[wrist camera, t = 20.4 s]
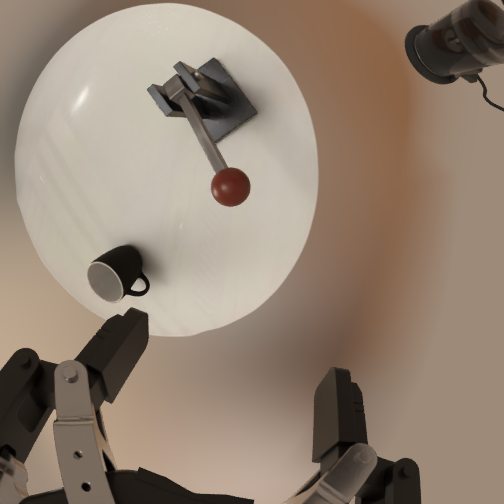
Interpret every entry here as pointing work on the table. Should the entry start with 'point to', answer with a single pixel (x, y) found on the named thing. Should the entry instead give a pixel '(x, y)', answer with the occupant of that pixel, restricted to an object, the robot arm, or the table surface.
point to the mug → (116, 274)
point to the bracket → (209, 98)
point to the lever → (210, 148)
